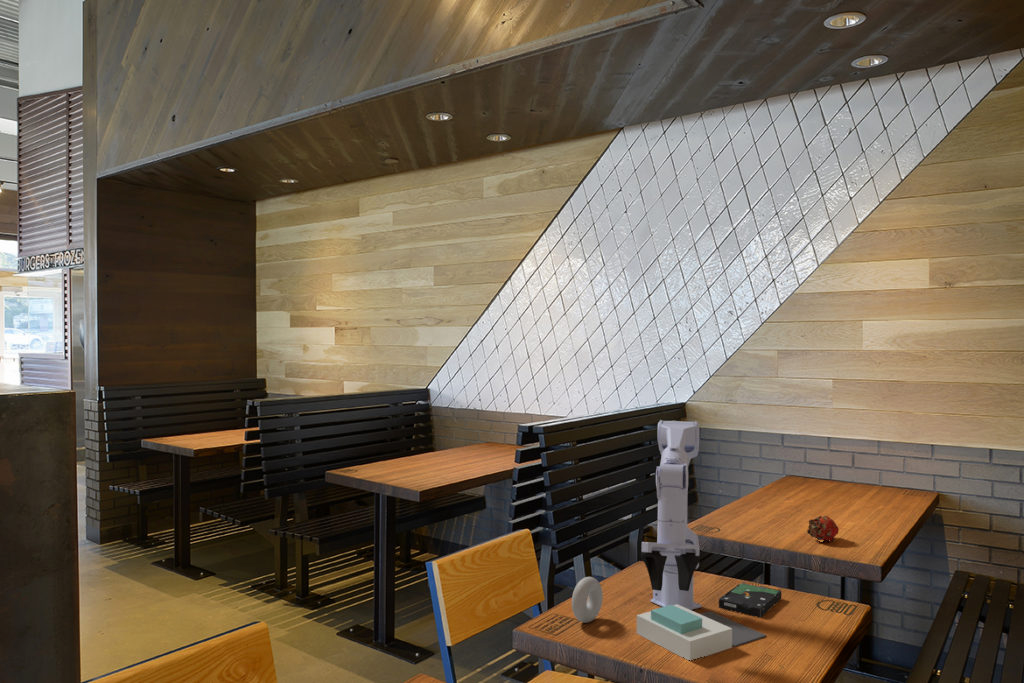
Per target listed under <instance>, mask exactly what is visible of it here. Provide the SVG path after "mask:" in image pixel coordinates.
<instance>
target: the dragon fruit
mask: <svg viewBox="0 0 1024 683" xmlns="http://www.w3.org/2000/svg"><path fill="white" fill-rule="evenodd" d="M808 524H809V525H808V526H807V527H808V529H807V530H806V533H807V534H808V535H810V536H811V537H812V538H814V537H815V538H817V539H818V540H825V541H826V540H830V541H831V542H834V541H835V538H836V536H837V535H838V534H839V527H838V525H837V523H836V522H835V520H833V519H831V517H830V516H828V515H823V516H821V515H820V516H817V517H815V518H814V519H809V520H808ZM815 538H814V539H815Z"/></svg>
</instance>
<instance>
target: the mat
mask: <svg viewBox="0 0 1024 683" xmlns="http://www.w3.org/2000/svg"><path fill="white" fill-rule="evenodd" d="M699 614H700V615H703V616H705V617H707V618H710V619H712V620H714V621H716V622H719V623H721V624H723V625H725V626H728V627H730V628H732V648H735V647H738V646H741V645H744V644H748V643H751V642H753V641H757V640H759V639H763V638H765V637H767V634H765V633H762V632H761V631H758V630H756V629H753V628H751V627H749V626H746V625H744V624H741V623H739V622H736V621H735V620H732V619H729V617H725V616H723V615H720V614H718V613H716V612H714V611H712V610H711V611H710V610H709V611H706V612H702V613H699Z"/></svg>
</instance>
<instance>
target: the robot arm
mask: <svg viewBox="0 0 1024 683" xmlns="http://www.w3.org/2000/svg"><path fill="white" fill-rule="evenodd" d="M656 433H657V435H656V436H657V444H658V450H659V451H660V452H659V453H660V455H661V458H660V462H659V463H660V464H659V466H656V470H655V486H656V498H657V500H658V501H657V531H656V534H657V538H656V540H657V541H656V542H651V541H650V542H649V541H648V542H647V541H642V542H641V553H640V554H641V555H640V556H641V558H642V561H643V562H644V565H645V568H646V570H647V574H648V577H649V581H650V585H651V590H652V599H651V598H650V603H652V604H653V603H654V604H655V605H658V606H660V607H665V606H669V605H676V604H678V605H680V606H682V607H685V608H687V609H689V610H691V611H693V610H696V609H699V608H702V604H700V603H698V602H696V601H694V573H695V571H696V570H697V569H698V568H699V567H700V561H701V556H700V544H699V537H698V535H697V533H696V532H694V531H693V530H692V529H691V528H689V527H688V496H689V495H688V494H689V493H688V491H689V490H688V488H689V466H690V461H691V459H694V458H696V457H698V454H699V452H700V451H699V450H700V448H699V447H700V423H699V422H698V421H696V420H694V421H680V420H679V421H678V420H677V421H676V420H673V421H672V420H662V419H659V422H658V423H657V432H656Z"/></svg>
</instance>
